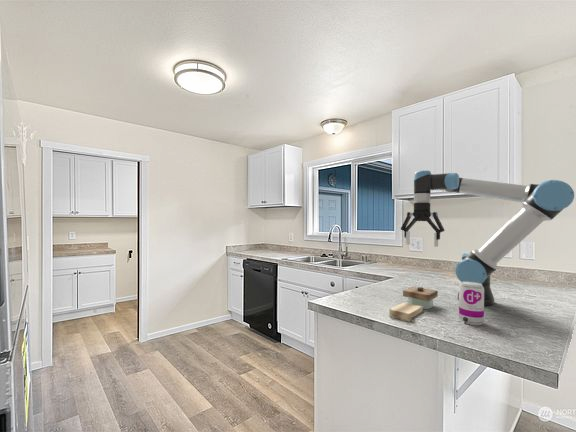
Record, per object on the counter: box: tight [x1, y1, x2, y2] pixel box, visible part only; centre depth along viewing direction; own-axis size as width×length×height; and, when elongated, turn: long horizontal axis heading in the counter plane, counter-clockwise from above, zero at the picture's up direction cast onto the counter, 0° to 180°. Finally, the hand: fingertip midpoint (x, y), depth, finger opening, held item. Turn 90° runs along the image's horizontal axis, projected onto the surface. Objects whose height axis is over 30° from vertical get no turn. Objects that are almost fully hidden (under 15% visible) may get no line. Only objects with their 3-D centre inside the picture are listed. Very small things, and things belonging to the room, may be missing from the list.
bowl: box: [407, 297, 434, 310], centre depth 133 cm, size 9×9×5 cm
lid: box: [402, 286, 439, 301], centre depth 133 cm, size 11×11×4 cm
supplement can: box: [458, 281, 485, 326], centre depth 115 cm, size 8×8×15 cm
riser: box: [388, 302, 424, 322], centre depth 123 cm, size 8×14×3 cm, turn 136°
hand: (421, 245), depth 148 cm, fingers open, 13 cm apart
